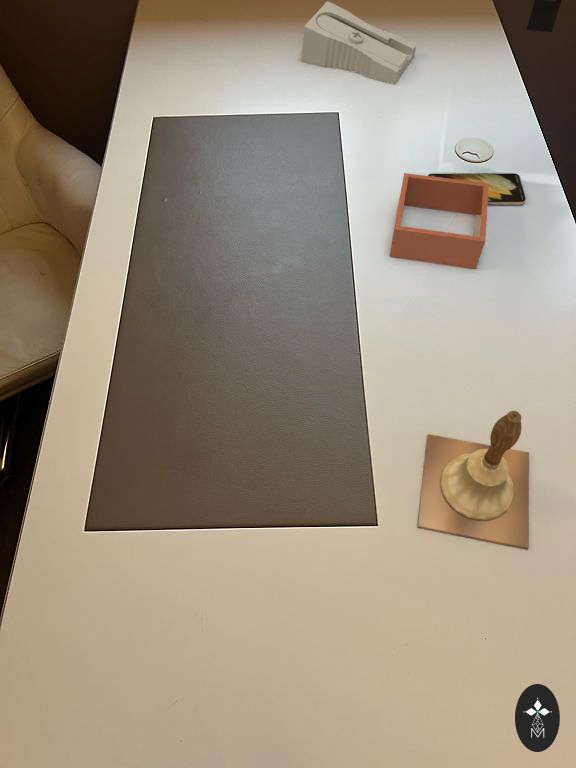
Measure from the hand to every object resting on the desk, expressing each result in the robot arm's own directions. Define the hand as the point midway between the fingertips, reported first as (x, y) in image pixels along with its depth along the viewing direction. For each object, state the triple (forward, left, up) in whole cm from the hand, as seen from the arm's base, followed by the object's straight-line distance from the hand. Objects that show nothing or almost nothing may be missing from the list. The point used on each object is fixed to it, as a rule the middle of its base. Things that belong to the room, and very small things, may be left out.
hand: (540, 3), depth 73 cm
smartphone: (+1, -6, -31) cm, 32 cm away
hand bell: (-2, +48, -31) cm, 57 cm away
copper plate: (-2, +48, -31) cm, 57 cm away
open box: (+6, +6, -31) cm, 32 cm away
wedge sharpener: (+26, -42, -31) cm, 58 cm away
